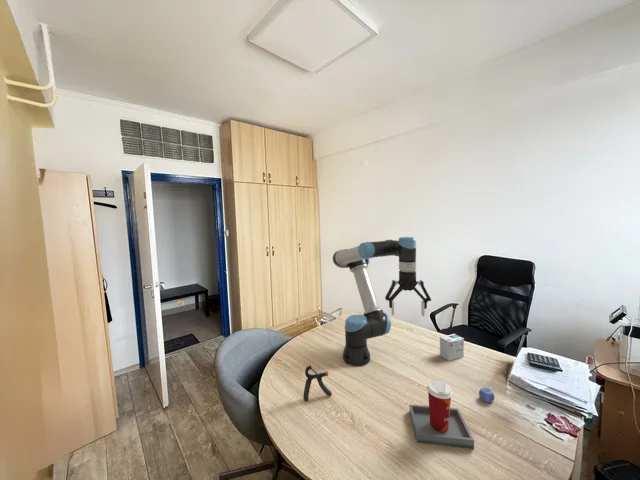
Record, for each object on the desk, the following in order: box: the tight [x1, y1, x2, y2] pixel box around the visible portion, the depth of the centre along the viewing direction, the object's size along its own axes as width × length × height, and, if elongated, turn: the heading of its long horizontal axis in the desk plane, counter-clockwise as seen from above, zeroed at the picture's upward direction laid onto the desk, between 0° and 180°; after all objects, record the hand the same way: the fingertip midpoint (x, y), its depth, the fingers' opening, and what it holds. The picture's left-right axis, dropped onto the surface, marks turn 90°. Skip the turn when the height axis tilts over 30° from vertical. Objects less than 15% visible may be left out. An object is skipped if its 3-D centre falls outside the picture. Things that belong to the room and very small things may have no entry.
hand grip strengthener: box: [303, 365, 333, 402], centre depth 109 cm, size 2×12×15 cm, turn 99°
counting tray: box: [409, 404, 475, 450], centre depth 92 cm, size 18×14×3 cm
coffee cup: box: [426, 380, 453, 433], centre depth 91 cm, size 8×8×15 cm
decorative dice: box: [478, 387, 495, 404], centre depth 105 cm, size 4×4×4 cm
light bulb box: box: [439, 333, 465, 362], centre depth 138 cm, size 11×7×11 cm, turn 108°
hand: (407, 314), depth 118 cm, fingers open, 13 cm apart
